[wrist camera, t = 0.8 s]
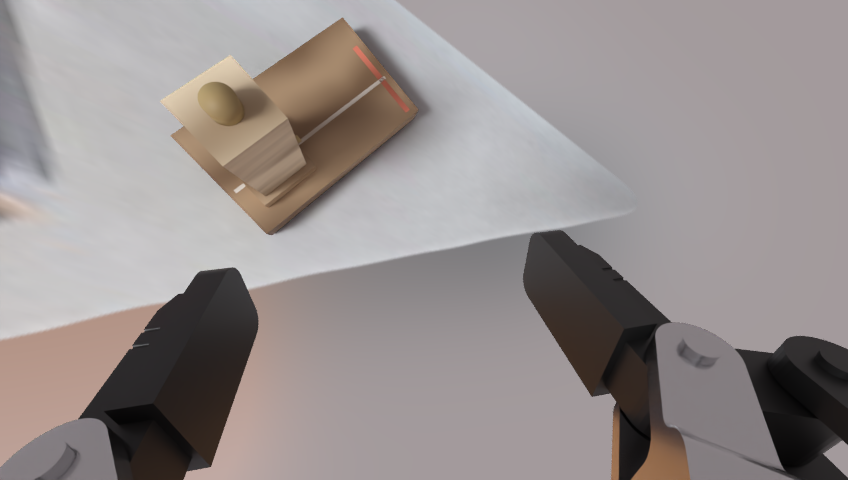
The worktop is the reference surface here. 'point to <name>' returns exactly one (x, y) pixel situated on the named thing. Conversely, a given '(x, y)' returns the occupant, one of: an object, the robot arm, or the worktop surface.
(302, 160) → the pale wood tall block
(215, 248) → the worktop surface
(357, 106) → the plank
